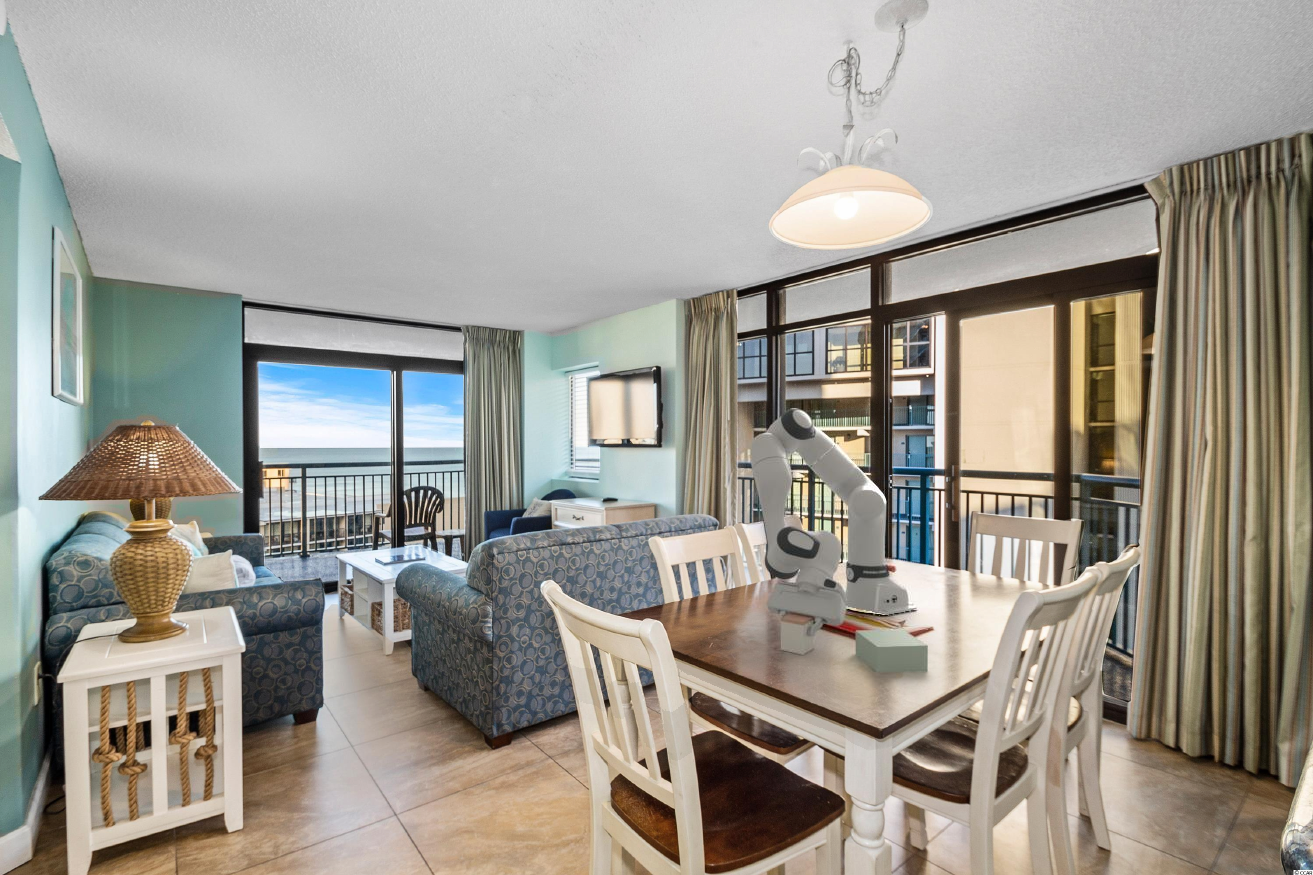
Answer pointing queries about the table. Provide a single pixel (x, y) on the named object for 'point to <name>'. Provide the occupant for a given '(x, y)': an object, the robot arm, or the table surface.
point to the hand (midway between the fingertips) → (796, 632)
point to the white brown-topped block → (796, 633)
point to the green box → (891, 651)
